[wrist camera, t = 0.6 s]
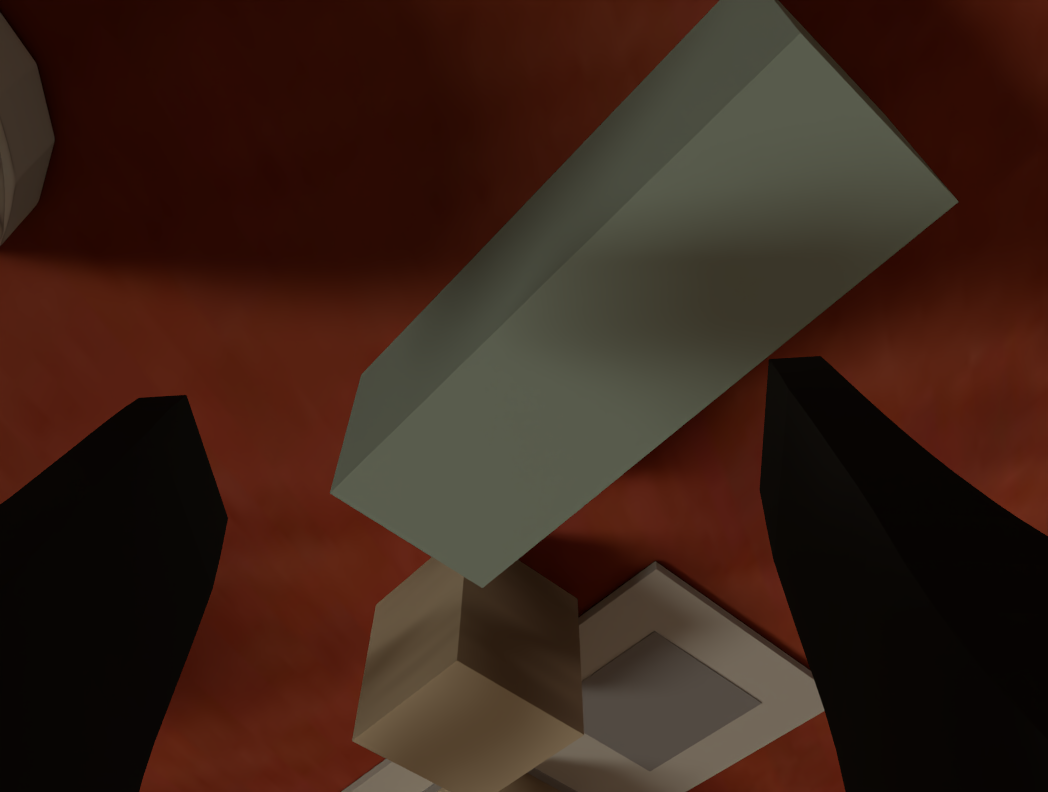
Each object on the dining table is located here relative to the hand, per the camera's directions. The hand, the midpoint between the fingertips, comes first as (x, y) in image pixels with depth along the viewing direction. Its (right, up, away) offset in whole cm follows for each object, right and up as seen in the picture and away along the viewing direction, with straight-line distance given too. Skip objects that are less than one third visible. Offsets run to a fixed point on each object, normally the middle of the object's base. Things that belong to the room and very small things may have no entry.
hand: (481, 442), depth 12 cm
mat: (+2, -11, +19) cm, 22 cm away
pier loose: (-1, -5, +15) cm, 16 cm away
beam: (+2, +4, +9) cm, 10 cm away
